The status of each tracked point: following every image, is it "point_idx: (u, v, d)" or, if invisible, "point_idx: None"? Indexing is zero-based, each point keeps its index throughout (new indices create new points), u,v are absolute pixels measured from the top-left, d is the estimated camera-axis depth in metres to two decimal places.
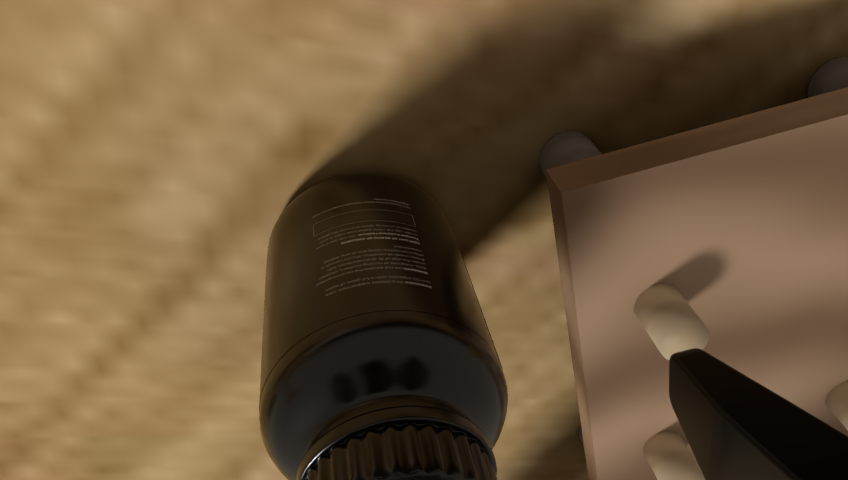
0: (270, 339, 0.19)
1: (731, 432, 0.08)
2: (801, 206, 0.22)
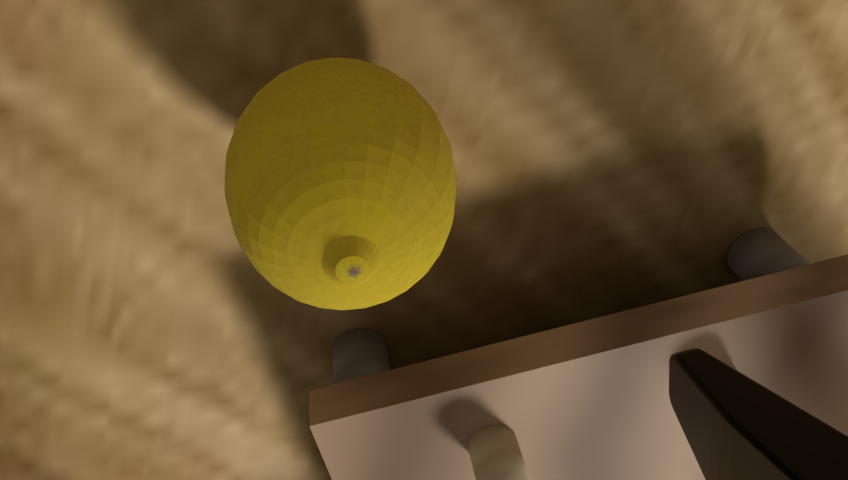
0: None
1: (731, 432, 0.08)
2: None
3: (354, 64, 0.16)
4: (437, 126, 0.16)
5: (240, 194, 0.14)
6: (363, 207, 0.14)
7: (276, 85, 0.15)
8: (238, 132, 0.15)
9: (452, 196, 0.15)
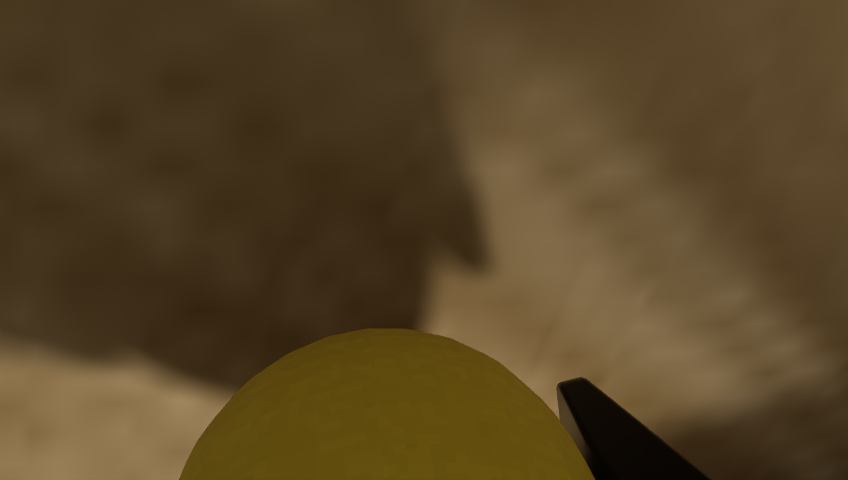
0: None
1: (598, 466, 0.08)
2: None
3: (426, 398, 0.07)
4: None
5: None
6: None
7: (251, 468, 0.07)
8: None
9: None
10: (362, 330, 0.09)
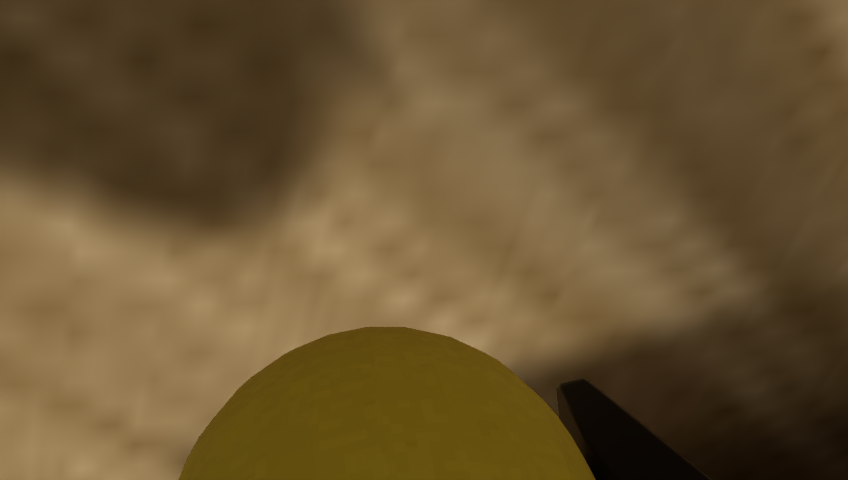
0: None
1: (598, 466, 0.08)
2: None
3: (426, 397, 0.07)
4: None
5: None
6: None
7: (252, 466, 0.07)
8: None
9: None
10: (362, 329, 0.09)
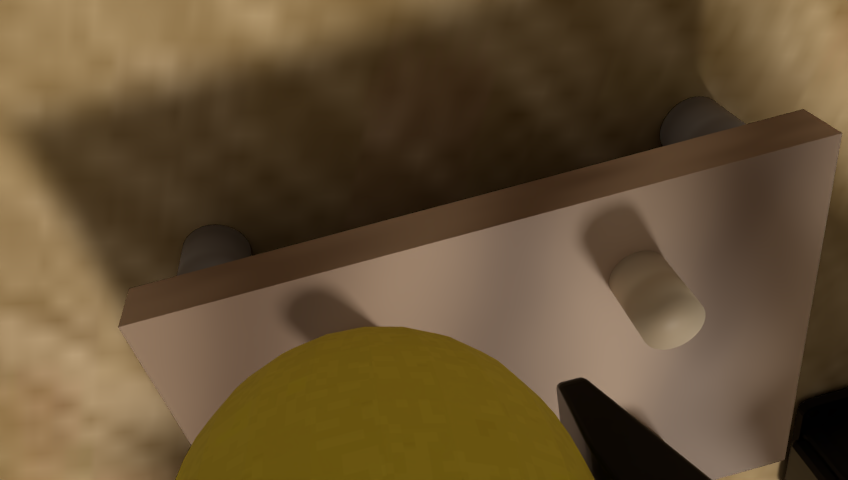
0: None
1: (598, 466, 0.08)
2: None
3: (424, 396, 0.07)
4: None
5: None
6: None
7: (248, 466, 0.07)
8: None
9: None
10: (360, 328, 0.09)
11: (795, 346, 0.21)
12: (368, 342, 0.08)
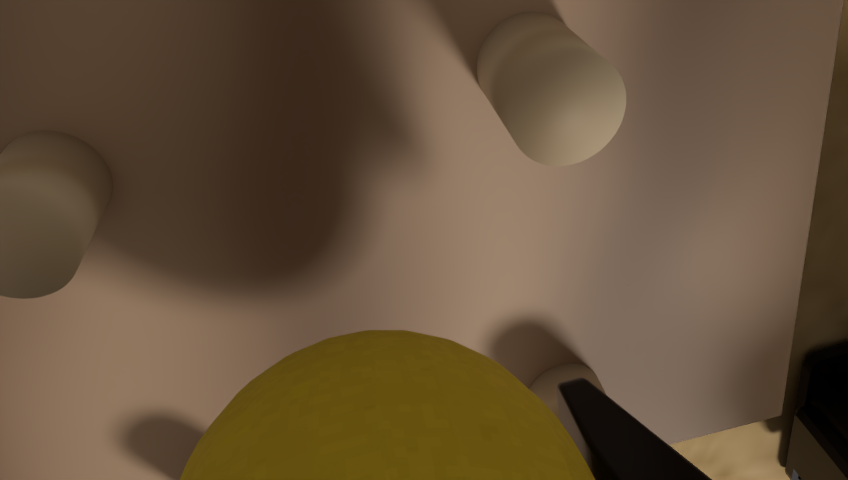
0: None
1: (598, 466, 0.08)
2: None
3: (427, 401, 0.07)
4: None
5: None
6: None
7: (251, 471, 0.07)
8: None
9: None
10: (362, 332, 0.09)
11: (795, 222, 0.13)
12: (371, 346, 0.08)
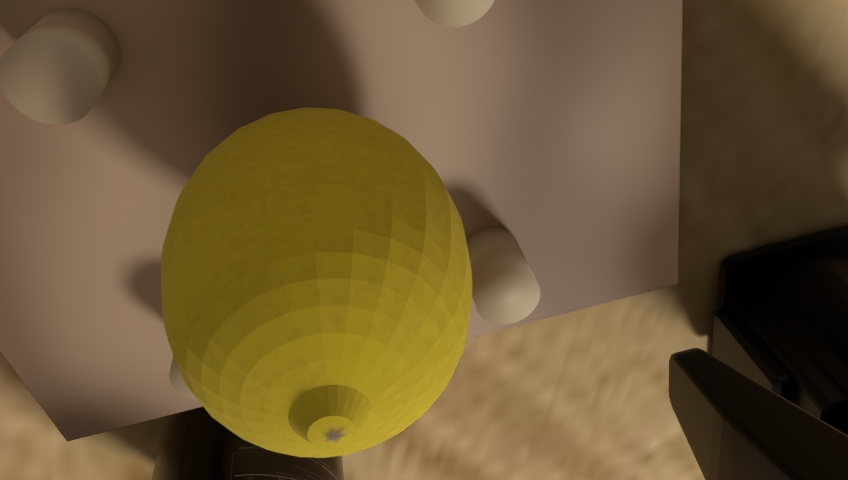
0: None
1: (731, 432, 0.08)
2: (31, 190, 0.15)
3: (334, 122, 0.12)
4: (446, 206, 0.12)
5: (174, 315, 0.10)
6: (346, 344, 0.10)
7: (227, 154, 0.11)
8: (176, 219, 0.11)
9: (468, 303, 0.11)
10: None
11: (668, 103, 0.17)
12: (305, 108, 0.13)
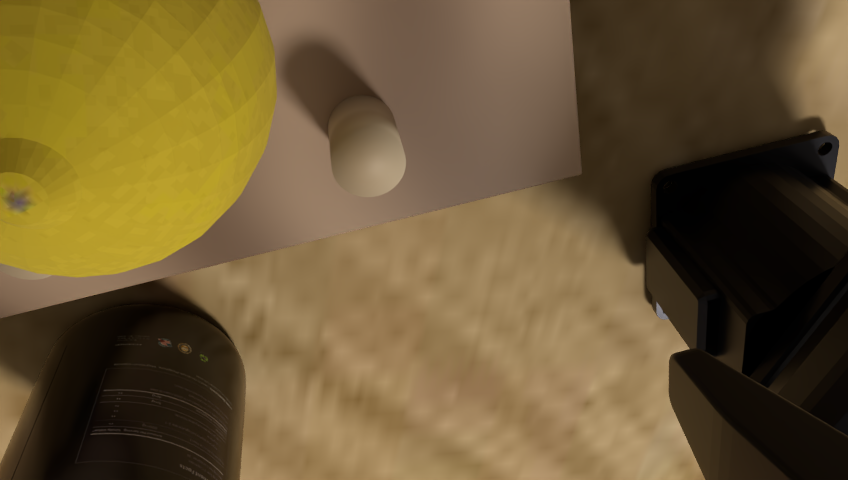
0: None
1: (731, 432, 0.08)
2: None
3: None
4: None
5: None
6: (31, 88, 0.08)
7: None
8: None
9: (241, 90, 0.10)
10: None
11: None
12: None
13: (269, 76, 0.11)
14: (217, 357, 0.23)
